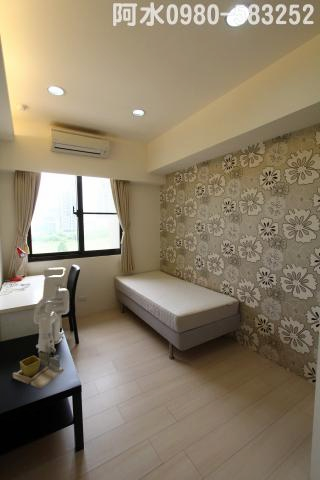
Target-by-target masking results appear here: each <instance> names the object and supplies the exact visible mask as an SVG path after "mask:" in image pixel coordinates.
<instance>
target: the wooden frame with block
mask: <svg viewBox="0 0 320 480" xmlns="http://www.w3.org/2000/svg"><path fill="white" fill-rule="evenodd" d="M37 358H38V359H39V360H40V366H44V367H45V368H43V369H42V370H40V371H39V372H37V373H36V374H34V375H32V376H31V377H26V376H25V375H24V374H23V373H22V371H21V369H20V370H19V371H17V372H15V371H14V372H13V373H12V378H13V379H14V380H17V381H20V382H23V383H25V384H28V385H29V384H30V385H31V382H32V381H34V380H35V379H36V378H38V377H39V376H40V375H42V374H43V373H44V372H46V371H47V370H48V369H49V354H48V353H47V352H43V353H41V352H39V353H38V357H37Z"/></svg>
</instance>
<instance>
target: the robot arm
mask: <svg viewBox="0 0 320 480" xmlns="http://www.w3.org/2000/svg"><path fill="white" fill-rule="evenodd" d="M43 277H44V280H43V288H42V289H43V292H42V297H41V299H40V300H39V301H38V302H37V304H36V306H35V307H34V312H33V313H34V314H33V322H34V324H36V325H38V328H39V329H38V343H37V344H36V345H35V347H36V351H37V353H38V354H39V352H41V353H43V352H47V353H48V354H49V357H54V355H55V353H56V351H57V349H56V348H55V345H57V344H59V343H60V342H62V341H63V337H62V335H64V334H65V331H62V332H60V331H61V330H60V329H61V326H60V325H61V323H60V322H61V321H60V319H61V318H60V317H59V315H67V314H68V313H69V312H70V291H69V290H68V288H60V287H64V286H65V284H66V283H67V277H68V270H67V268H65V267H50V268H45V269H44V270H43ZM47 302H50V303H47ZM45 303H47V304H46V305H45V307H44V308H45V309H44V312H40V309H41V307H42V306H43V305H44V304H45Z"/></svg>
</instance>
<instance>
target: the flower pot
mask: <svg viewBox="0 0 320 480" xmlns="http://www.w3.org/2000/svg"><path fill="white" fill-rule="evenodd" d="M38 358H39V357H37V356H35V355H32V356H30V357H29V356H28V357H27V358H25V359H23V360H21V361H19V366H20V370H21V371H22V375H24V376H26V377H29V378H31V377H33V376H35V375H36V374H38V371H39V369H40V366H41V365H40V360H39V359H38Z"/></svg>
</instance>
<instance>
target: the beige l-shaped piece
mask: <svg viewBox="0 0 320 480" xmlns="http://www.w3.org/2000/svg"><path fill="white" fill-rule="evenodd" d="M60 362H61V356H60V355H58V354H56V355H54V356H53V357H49V364H48V365H49V369H48V370H47V371H46V372H44V373H43V374H42V375H40V376H39V377H38V378H36V379H35V380H34V381H32V382H31V383H30V385H31V386H33V387H36V388H38V389H43V388H44V387H45V386H46V385H48V384H49V382H51V381H53V380H54V379H55V378H56V377H58V375H60V373H62V372H63V371H64V368H63V367H61V363H60Z"/></svg>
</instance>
